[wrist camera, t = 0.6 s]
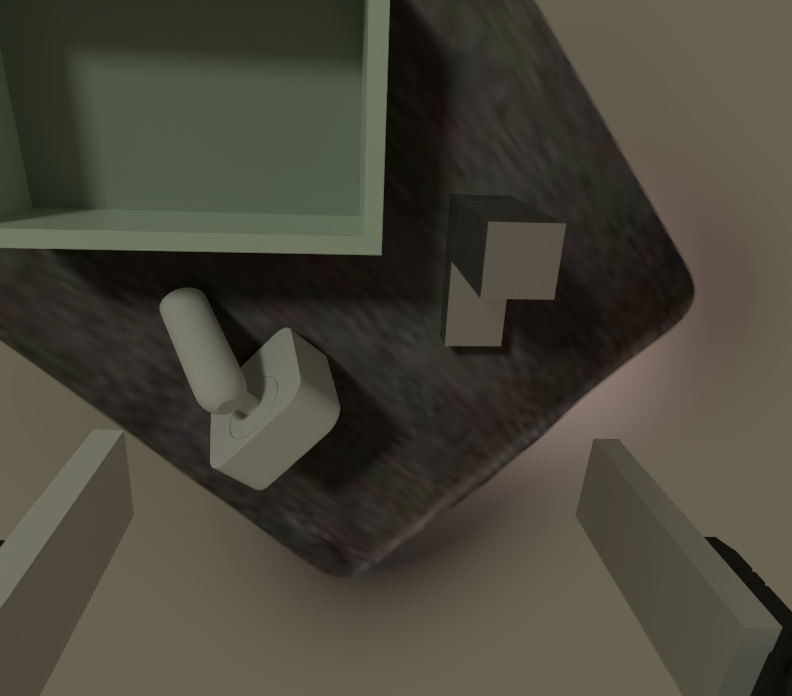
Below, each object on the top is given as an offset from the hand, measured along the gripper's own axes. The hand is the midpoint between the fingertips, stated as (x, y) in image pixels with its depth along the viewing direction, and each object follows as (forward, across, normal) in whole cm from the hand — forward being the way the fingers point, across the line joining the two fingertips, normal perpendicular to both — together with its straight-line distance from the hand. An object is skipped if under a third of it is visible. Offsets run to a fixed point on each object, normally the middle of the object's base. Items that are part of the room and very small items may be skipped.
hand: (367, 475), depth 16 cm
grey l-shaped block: (+24, +8, 0) cm, 26 cm away
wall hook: (+25, -7, -6) cm, 26 cm away
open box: (+24, -10, +10) cm, 28 cm away
